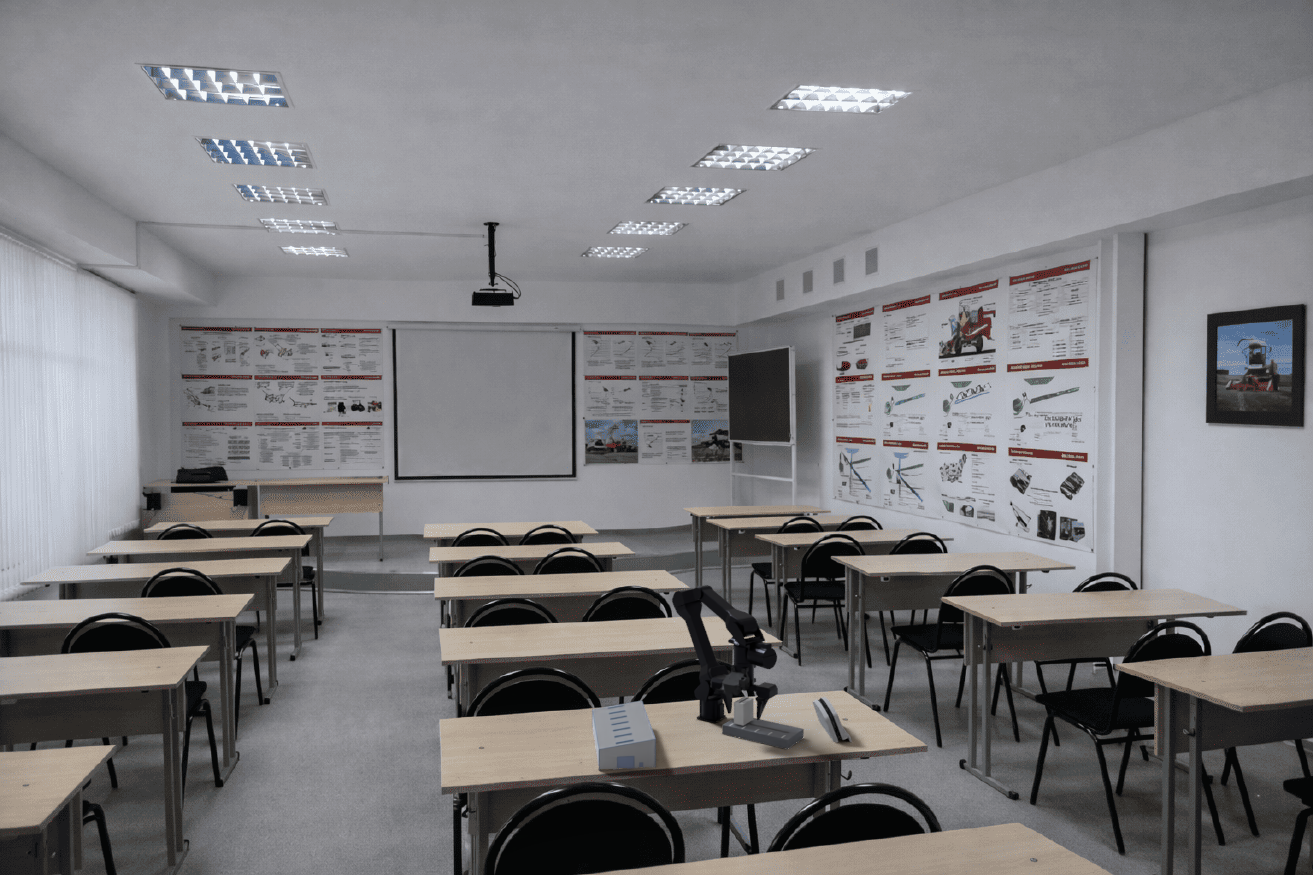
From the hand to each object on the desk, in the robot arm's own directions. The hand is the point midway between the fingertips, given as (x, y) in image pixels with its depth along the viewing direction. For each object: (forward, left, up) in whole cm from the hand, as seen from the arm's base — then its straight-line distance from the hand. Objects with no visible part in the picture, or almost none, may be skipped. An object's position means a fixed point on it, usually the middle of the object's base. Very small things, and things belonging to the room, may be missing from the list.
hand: (743, 716), depth 235 cm
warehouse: (-22, -28, -5) cm, 36 cm away
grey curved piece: (+20, +14, -5) cm, 25 cm away
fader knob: (0, 0, -1) cm, 1 cm away
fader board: (+6, 0, -4) cm, 7 cm away
